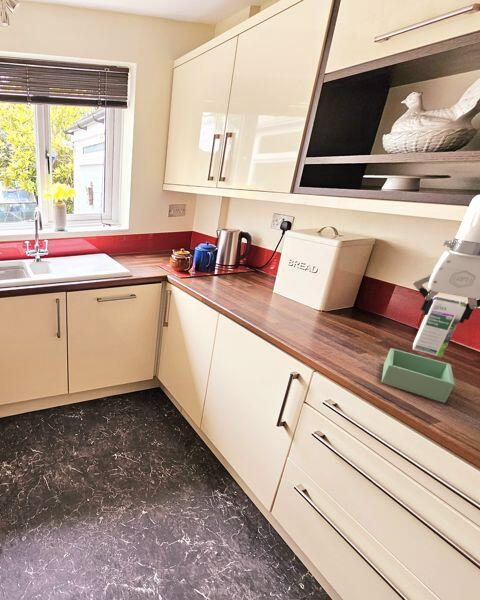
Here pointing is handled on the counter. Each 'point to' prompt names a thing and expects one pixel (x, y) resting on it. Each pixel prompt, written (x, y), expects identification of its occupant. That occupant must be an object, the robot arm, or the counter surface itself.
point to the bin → (418, 375)
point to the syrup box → (439, 326)
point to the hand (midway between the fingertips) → (442, 316)
